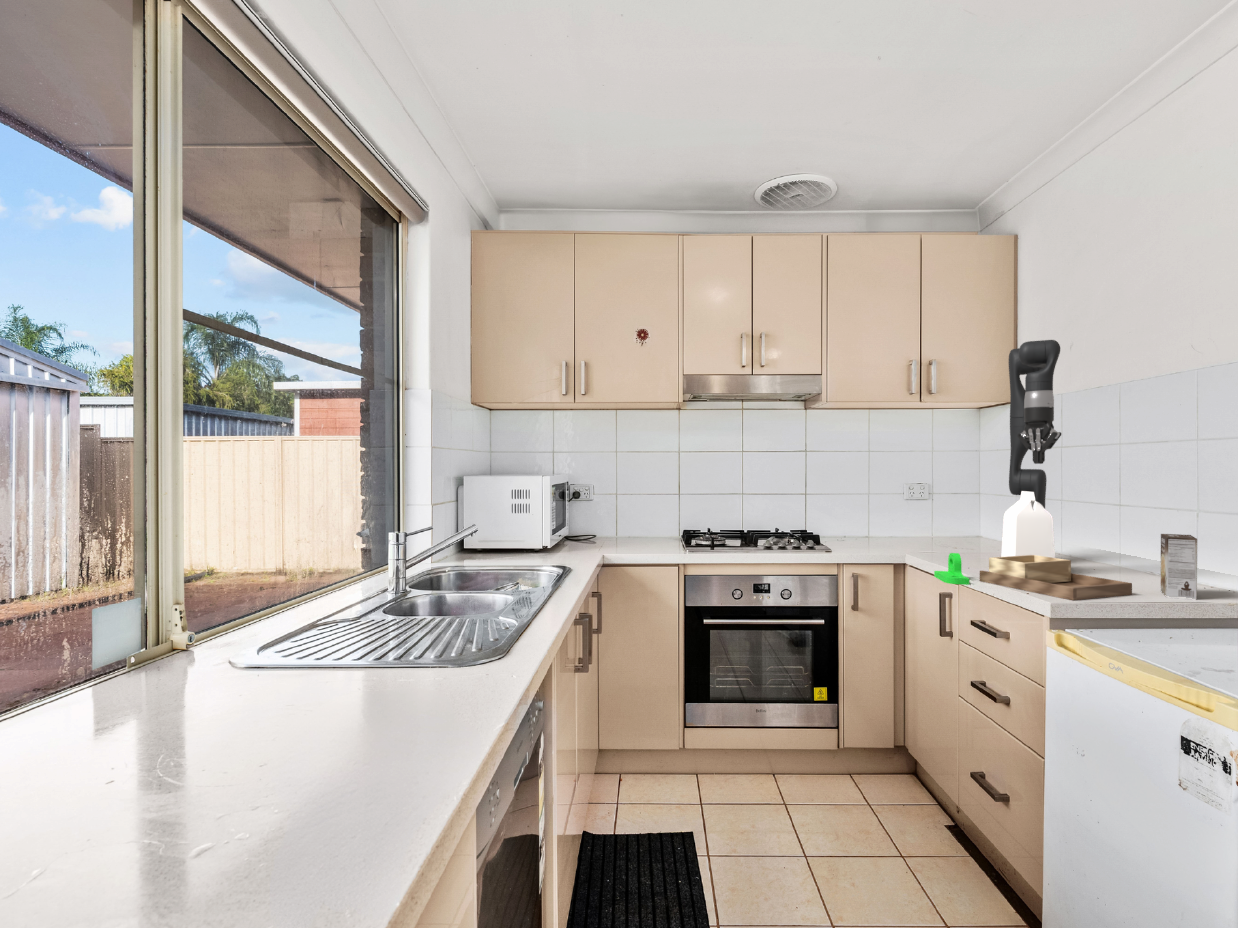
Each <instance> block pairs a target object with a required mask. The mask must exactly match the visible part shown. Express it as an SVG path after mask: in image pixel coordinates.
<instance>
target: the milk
mask: <svg viewBox="0 0 1238 928" xmlns="http://www.w3.org/2000/svg"><path fill="white" fill-rule="evenodd" d="M1054 531H1055V530H1054V517H1053V516H1052V514H1051V513H1050V511H1048V510H1047V509H1046V508H1045V509H1044V507H1043V506H1042V505H1041V504H1040V503H1039V502H1036V501H1035V496H1034V492H1029V491H1021V495H1020V499H1019V500H1017V501H1016V502H1015V503H1014V504H1013V505H1011V506H1010V507H1009V508H1007V509H1006V510H1005V512H1004V514H1003V521H1002V536H1001V537H1002V539H1001V556H1000V557H1008V556H1023V555H1038V556H1045V557H1052V558H1056V553H1055V550H1056V549H1055V533H1054Z"/></svg>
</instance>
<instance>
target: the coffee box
mask: <svg viewBox="0 0 1238 928" xmlns="http://www.w3.org/2000/svg"><path fill="white" fill-rule="evenodd" d="M1197 576H1198V538H1196V536H1193V535H1191V534H1181V533H1180V534H1176V533H1174V534H1173V533H1160V592H1161V591H1162V592H1161V593H1162V594H1163V593H1164V594H1163V596H1165V595H1166V596H1169V597H1186V598H1192V599H1197V597H1198V595H1197V594H1198V593H1197V592H1198V590H1197V588H1198V587H1197V586H1198V584H1197V583H1198V577H1197ZM1166 596H1165V597H1166ZM1192 599H1191V600H1192Z"/></svg>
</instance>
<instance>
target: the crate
mask: <svg viewBox="0 0 1238 928" xmlns="http://www.w3.org/2000/svg"><path fill="white" fill-rule="evenodd" d="M988 572H993V573H999V574H1004V575H1009V576H1015V577H1020V578H1025V579H1031V580H1036V581H1041V582H1047V583H1054V582H1066V581H1071V573H1072V560H1070V559H1065V558H1064V559H1063V558H1058V557H1055V558H1052V557H1045V556H1038V555H1023V556H1008V557H1001V556H995V557H993V556H992V557H988Z"/></svg>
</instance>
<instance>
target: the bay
mask: <svg viewBox="0 0 1238 928" xmlns="http://www.w3.org/2000/svg"><path fill="white" fill-rule="evenodd" d="M979 582H981V583H982V582H983V583H987V584H992V585H997V586H1002V587H1006V588H1011V589H1016V590H1021V591H1024V592H1025V591H1026V592H1030V593H1036V594H1040V595H1045V596H1050V597H1055V598H1060V599H1063V600H1064V599H1065V600H1069V601H1081V600H1090V599H1101V598H1104V599H1105V598H1113V597H1114V598H1115V597H1123V596H1133V583H1132V582H1128V581H1127V582H1126V581H1122V580H1115V579H1109V578H1102V577H1099V576H1098V577H1097V576H1091V575H1085V574H1080V573H1074V572H1071V581H1066V582H1054V583H1047V582H1041V581H1036V580H1031V579H1025V578H1020V577H1015V576H1009V575H1004V574H999V573H993V572H989V570H988V571H987V570H979Z"/></svg>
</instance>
